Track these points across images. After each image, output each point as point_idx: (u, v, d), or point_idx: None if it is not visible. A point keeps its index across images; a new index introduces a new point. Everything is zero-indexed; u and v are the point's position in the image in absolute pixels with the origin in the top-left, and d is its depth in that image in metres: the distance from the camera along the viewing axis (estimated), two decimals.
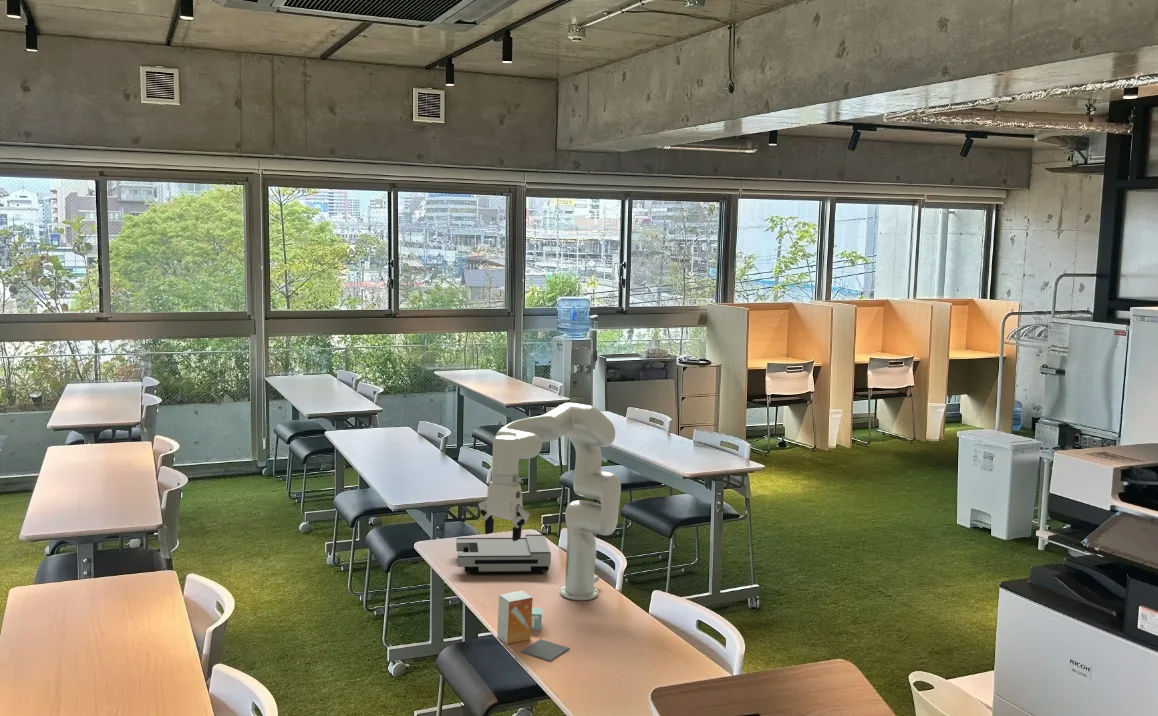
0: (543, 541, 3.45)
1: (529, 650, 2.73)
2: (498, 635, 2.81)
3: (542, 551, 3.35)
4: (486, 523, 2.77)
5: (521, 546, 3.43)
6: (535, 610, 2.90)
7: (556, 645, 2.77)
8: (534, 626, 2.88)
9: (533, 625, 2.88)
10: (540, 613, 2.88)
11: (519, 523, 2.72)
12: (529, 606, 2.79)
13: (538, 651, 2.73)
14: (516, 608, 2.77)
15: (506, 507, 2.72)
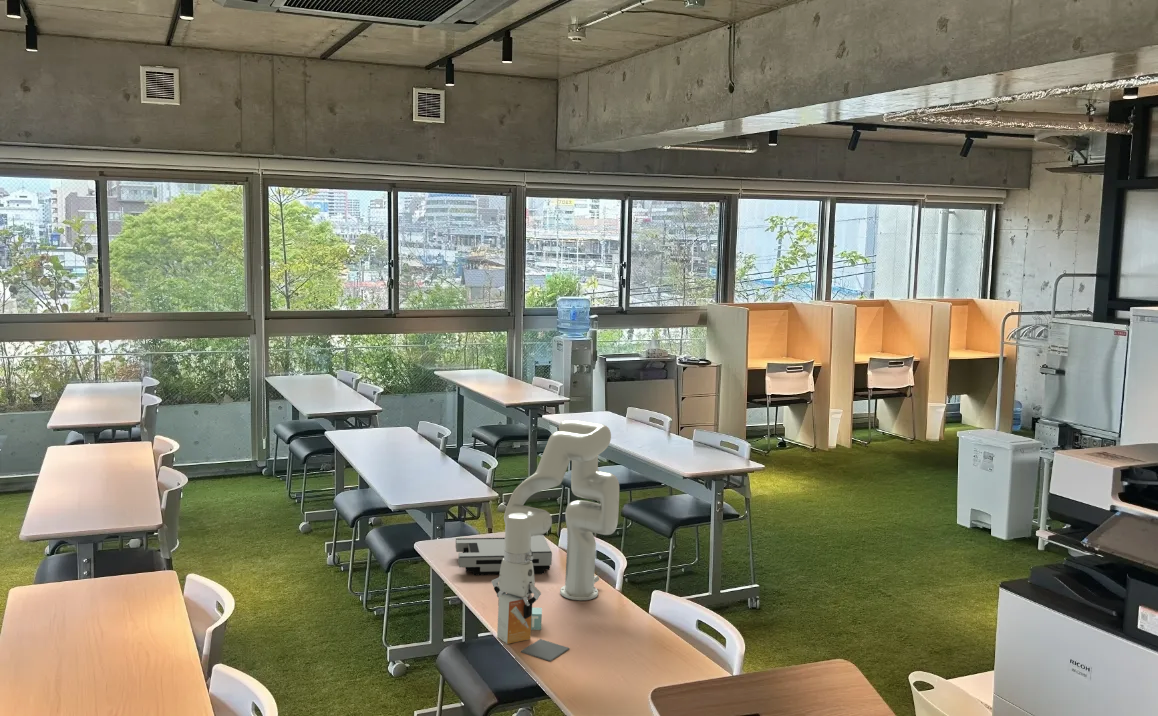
0: (543, 541, 3.46)
1: (529, 650, 2.73)
2: (498, 635, 2.81)
3: (543, 550, 3.36)
4: None
5: None
6: (535, 610, 2.90)
7: (556, 645, 2.77)
8: (534, 626, 2.88)
9: (533, 625, 2.88)
10: (540, 613, 2.88)
11: (530, 601, 2.76)
12: None
13: (538, 651, 2.73)
14: (516, 608, 2.77)
15: (518, 585, 2.76)
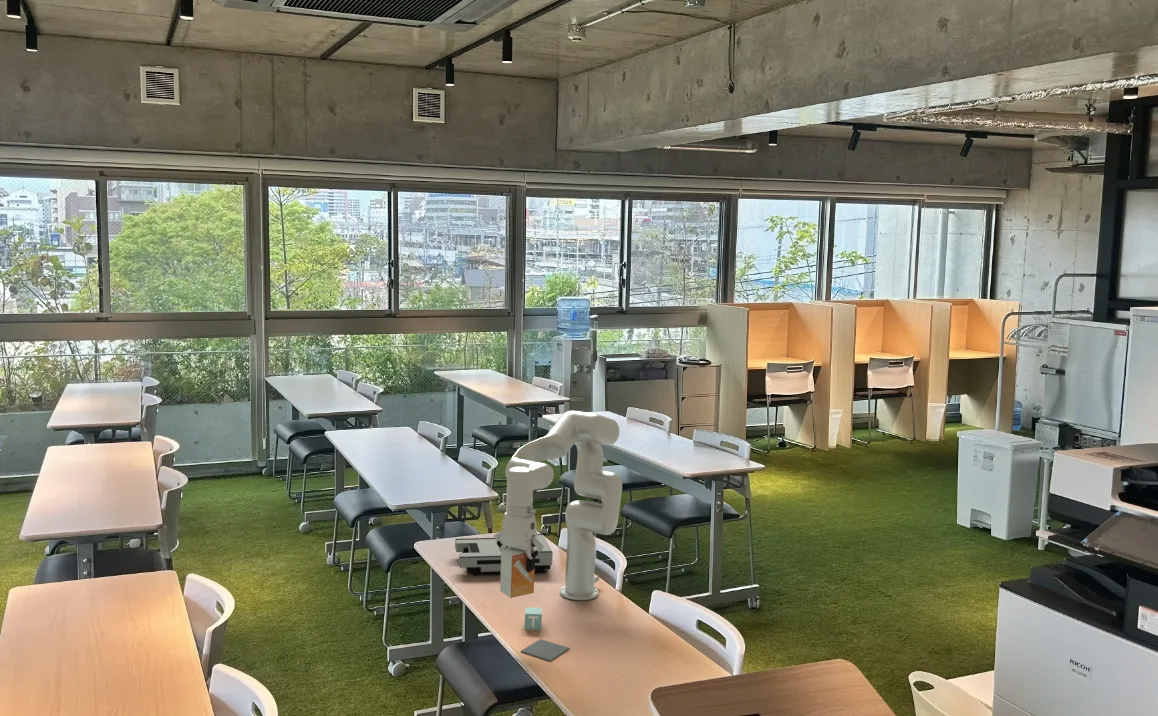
0: (543, 540, 3.46)
1: (529, 650, 2.73)
2: (501, 589, 2.80)
3: (543, 550, 3.36)
4: None
5: None
6: (535, 610, 2.90)
7: (556, 645, 2.77)
8: (534, 626, 2.88)
9: (533, 625, 2.88)
10: (540, 613, 2.88)
11: (533, 555, 2.75)
12: None
13: (538, 651, 2.73)
14: (519, 562, 2.76)
15: (521, 538, 2.75)
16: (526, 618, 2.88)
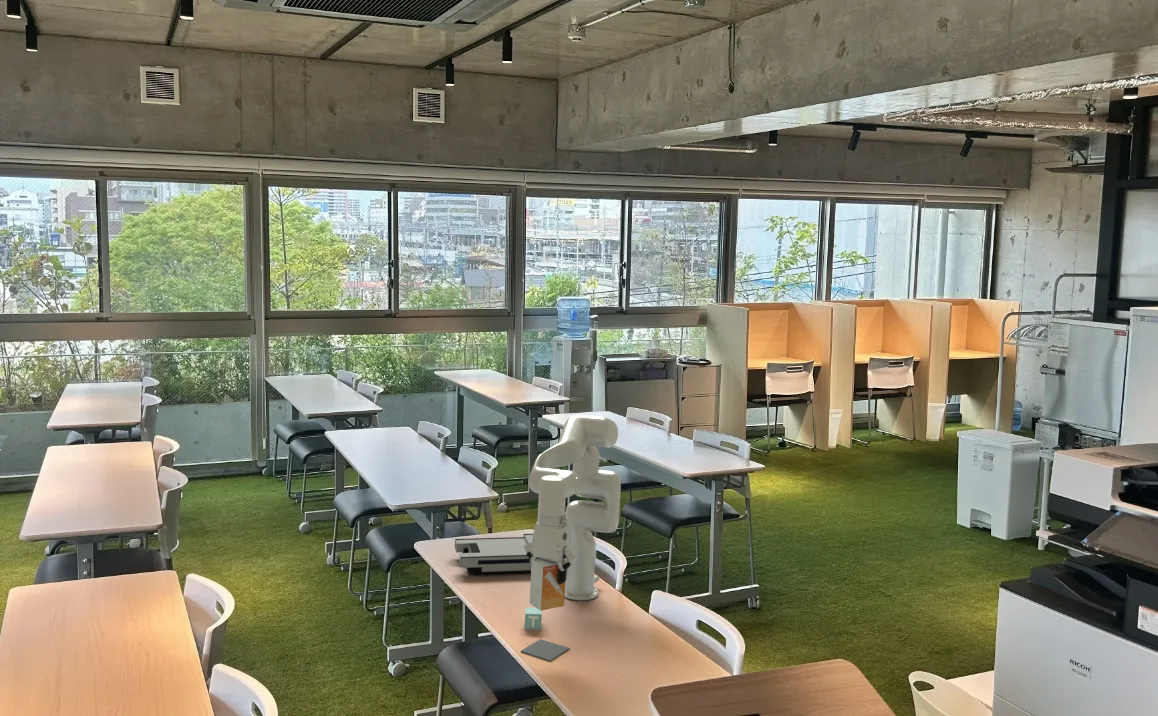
0: None
1: (529, 650, 2.73)
2: (531, 602, 2.72)
3: None
4: None
5: (521, 545, 3.44)
6: (535, 610, 2.90)
7: (556, 645, 2.77)
8: (534, 626, 2.88)
9: (533, 625, 2.88)
10: (540, 613, 2.88)
11: (565, 566, 2.67)
12: None
13: (538, 651, 2.73)
14: (550, 573, 2.68)
15: (553, 549, 2.67)
16: (526, 618, 2.88)
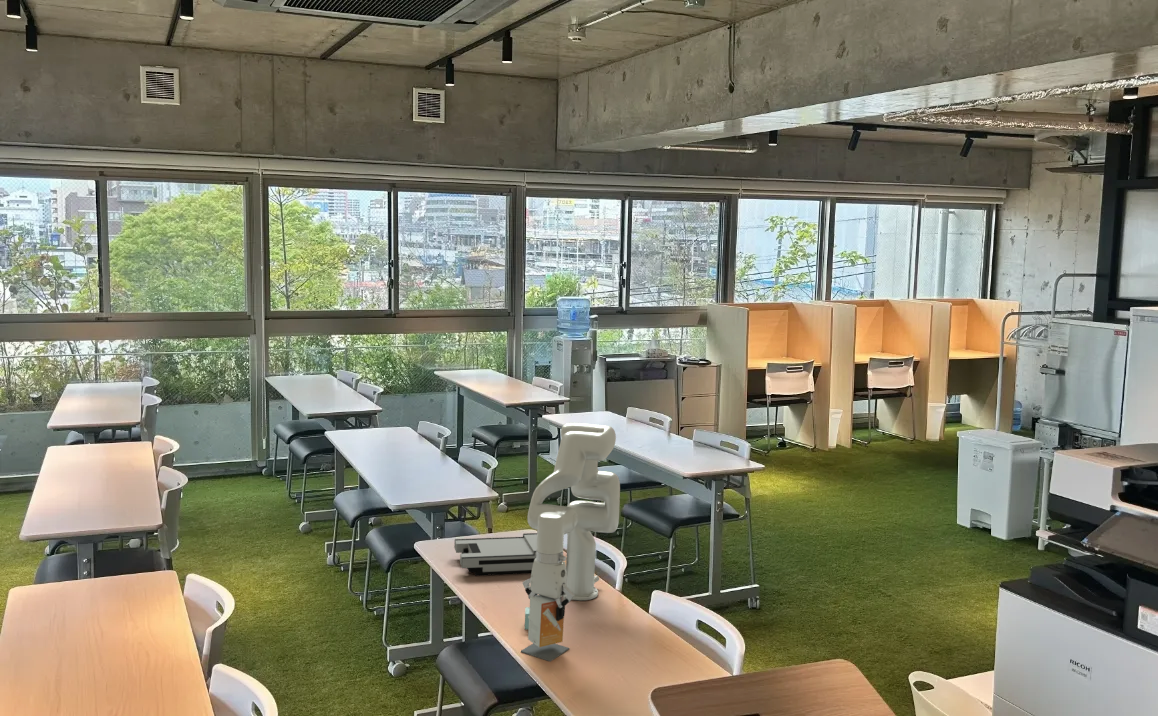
0: None
1: (529, 650, 2.73)
2: (529, 638, 2.73)
3: None
4: None
5: (521, 545, 3.44)
6: None
7: (556, 645, 2.77)
8: None
9: None
10: None
11: (563, 603, 2.68)
12: None
13: (538, 651, 2.73)
14: (548, 610, 2.69)
15: (551, 586, 2.68)
16: (526, 618, 2.88)
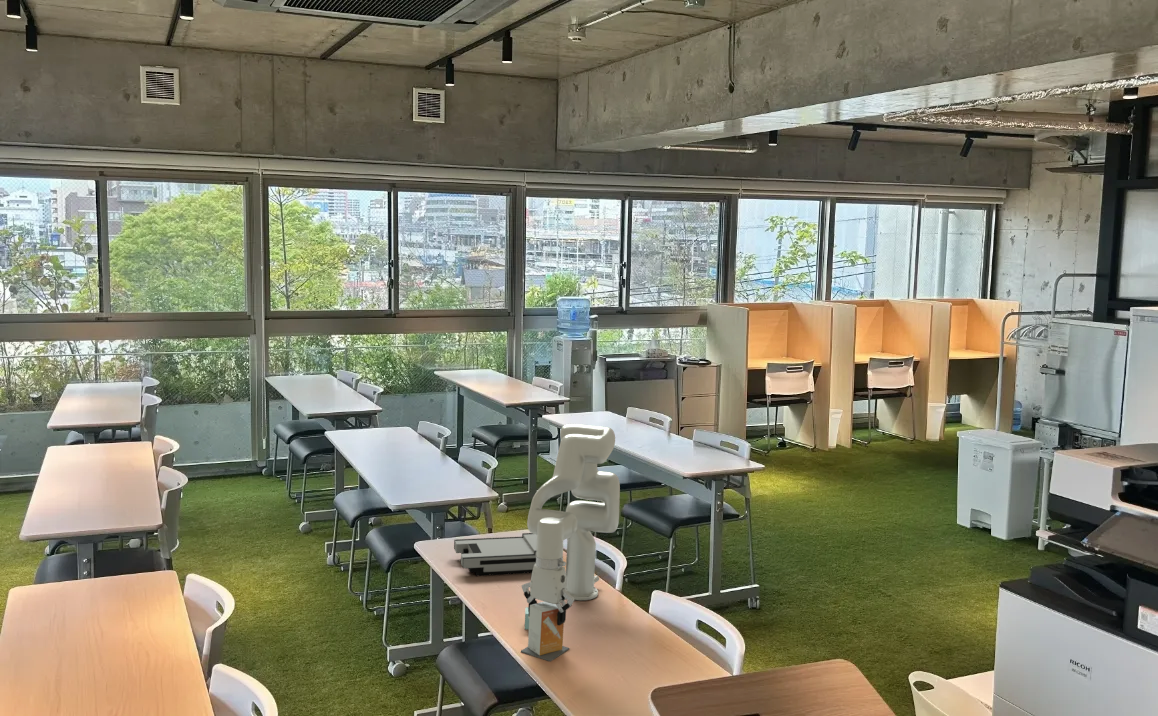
0: None
1: (529, 650, 2.73)
2: (529, 646, 2.74)
3: None
4: None
5: (521, 545, 3.44)
6: None
7: None
8: None
9: None
10: None
11: (564, 607, 2.68)
12: None
13: None
14: (548, 618, 2.70)
15: (551, 591, 2.68)
16: (526, 618, 2.88)
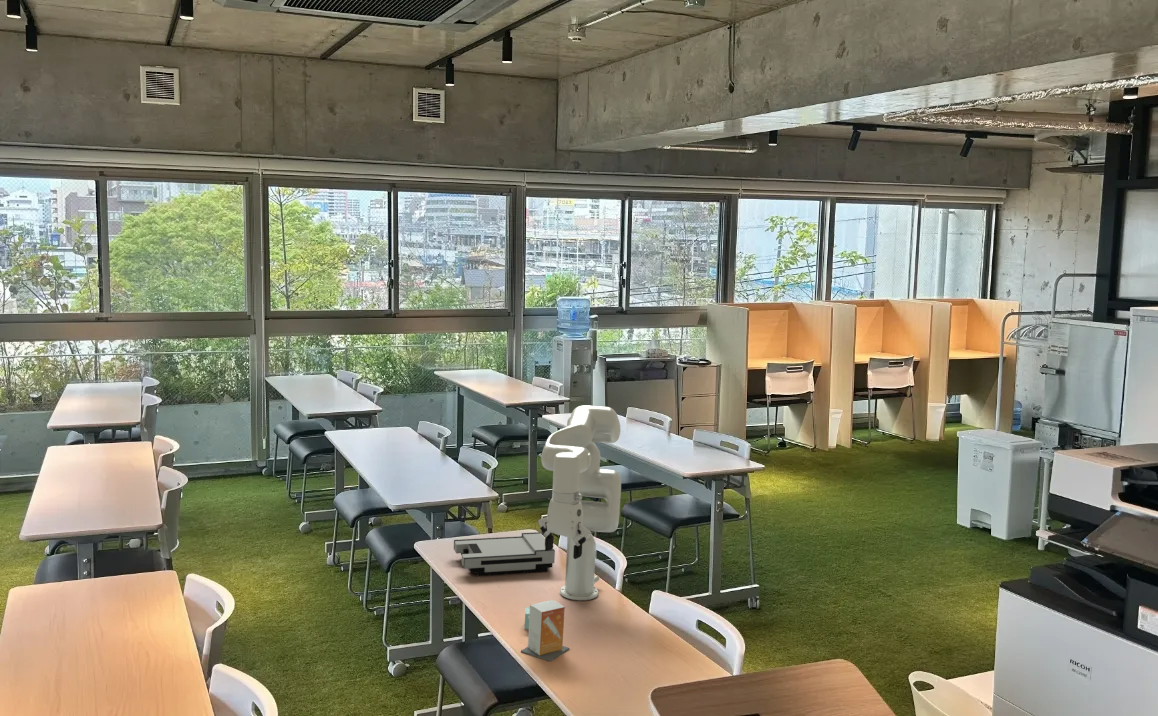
0: (542, 539, 3.48)
1: (529, 650, 2.73)
2: (529, 646, 2.74)
3: None
4: (546, 540, 2.75)
5: (521, 545, 3.44)
6: None
7: None
8: None
9: None
10: None
11: (580, 541, 2.70)
12: (561, 616, 2.72)
13: None
14: (548, 618, 2.70)
15: (567, 525, 2.70)
16: (526, 618, 2.88)
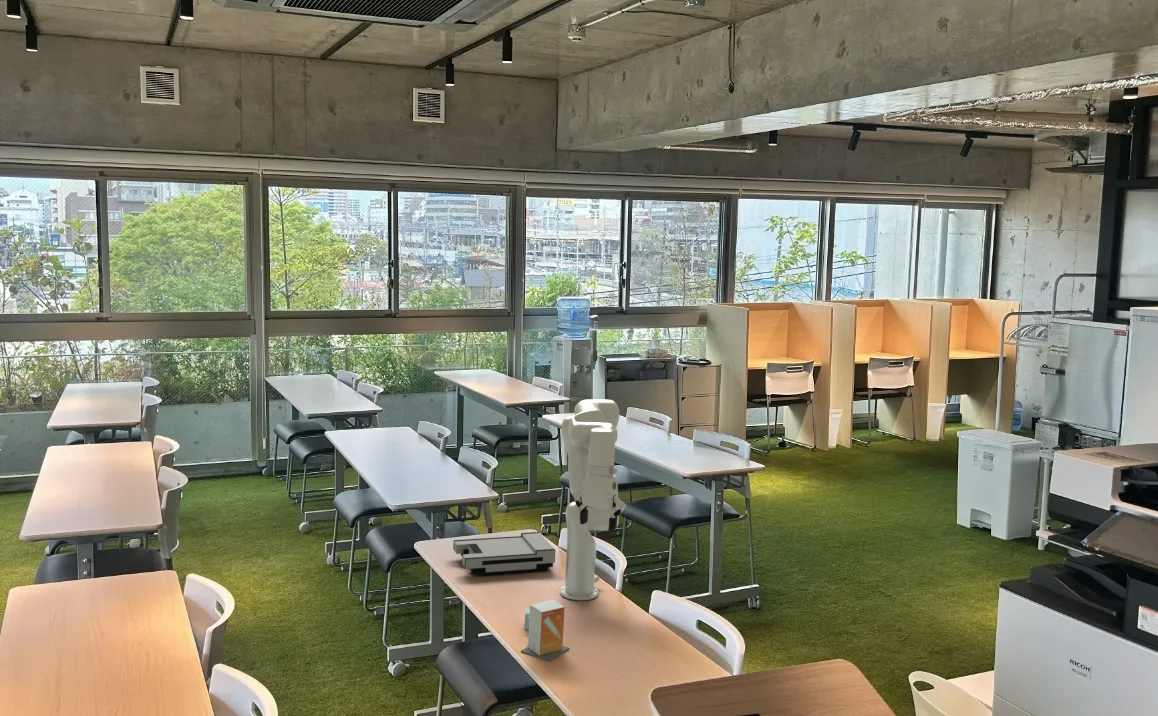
0: (542, 539, 3.48)
1: (529, 650, 2.73)
2: (529, 646, 2.74)
3: (545, 548, 3.38)
4: (581, 514, 2.83)
5: (521, 544, 3.45)
6: None
7: None
8: None
9: None
10: None
11: (615, 513, 2.78)
12: (561, 616, 2.72)
13: None
14: (548, 618, 2.70)
15: (603, 498, 2.78)
16: (526, 618, 2.88)
